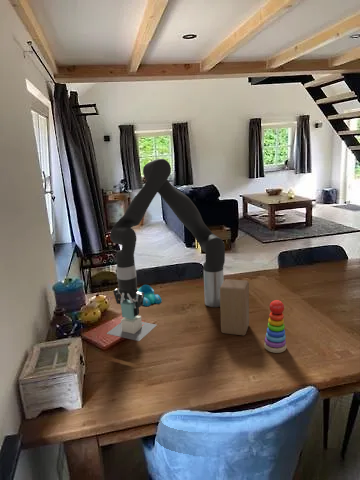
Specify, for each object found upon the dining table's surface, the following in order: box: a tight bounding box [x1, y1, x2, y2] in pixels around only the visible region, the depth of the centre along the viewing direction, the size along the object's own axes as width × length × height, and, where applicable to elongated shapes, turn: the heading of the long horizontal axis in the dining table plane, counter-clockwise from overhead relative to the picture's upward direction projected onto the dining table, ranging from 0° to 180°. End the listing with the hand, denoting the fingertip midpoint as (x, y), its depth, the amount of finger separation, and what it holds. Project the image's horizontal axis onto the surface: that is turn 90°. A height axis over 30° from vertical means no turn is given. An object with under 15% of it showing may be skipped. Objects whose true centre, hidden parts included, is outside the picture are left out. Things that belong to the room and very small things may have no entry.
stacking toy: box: [263, 299, 287, 354], centre depth 132 cm, size 8×8×19 cm
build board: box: [106, 321, 158, 342], centre depth 152 cm, size 16×14×1 cm
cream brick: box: [120, 314, 143, 334], centre depth 151 cm, size 6×6×5 cm
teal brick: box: [120, 300, 136, 319], centre depth 150 cm, size 5×5×6 cm
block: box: [219, 278, 250, 336], centre depth 147 cm, size 10×10×20 cm
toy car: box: [136, 284, 163, 307], centre depth 183 cm, size 11×18×7 cm, turn 25°
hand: (130, 314), depth 150 cm, fingers closed on teal brick, 5 cm apart
